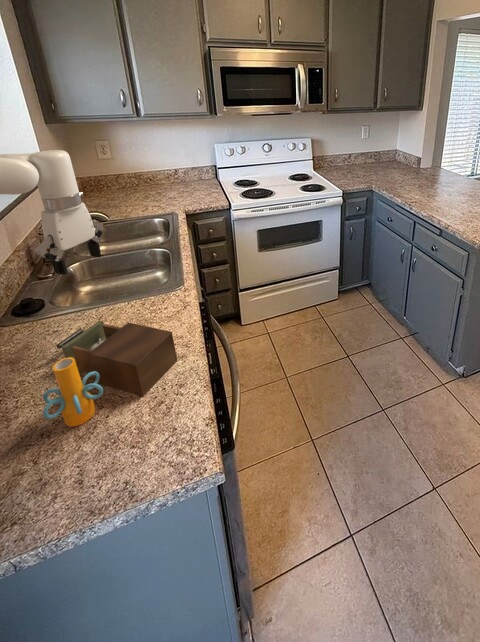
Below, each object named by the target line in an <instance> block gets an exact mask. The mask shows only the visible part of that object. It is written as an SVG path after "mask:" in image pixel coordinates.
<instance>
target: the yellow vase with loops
mask: <svg viewBox="0 0 480 642" xmlns="http://www.w3.org/2000/svg"><path fill="white" fill-rule="evenodd" d="M52 371H53V373H54V378H55V380H56V384H57V387H58V388H49V389H47V390H45V392H43V395H42V399H43V401H44V402H45V403H46V405H45V407H44V409H43V413H42V414H43V418H45V419H47V420H51V419H54V418H55V419H56V417H59V415H60V414H61V416H62V419H63V423H64V424H65V425H66V426H67V427H71V428H72V427H79V426H81V425H83V424H85V423H86V422H88V421H89V420H91V418H92V417H93V416H94V414H95V413H96V405H95V402H94V400H97V399H99V398H101V397H102V396H103V395H104V388H103V387H102V386H103V385H101V384H97V383H98V382H99V379H100V375H99V373H98V372H96V371H93V372H90V373H89V372H87V374H86V375H84V377H83V378H81V375H80V372H79V371H80V370H79V369H78V366H77V365H76V362H75V359H74V358H72V357H68V358H65V357H64V358H62V359H59V360H58V361H56V362H55V363H54V364H53V365H52ZM92 376H94V377H95V376H96V378H95V380H94V382H92V383H87V384H86V382H87V380H88V379H89V378H90V377H92ZM94 388H95V389H97V390H98V393H97V394H95V395H94V394H93V395H92V393H91V392H90V391H91V390H93V389H94ZM52 393H53V394H54V393H55V394H57V395H59V396H58V397H54V398H53V399H50V398H49V397H48V396H49V394H52ZM53 405H60V407H59V408H58V410H56V412H54V413H53V414H49V410H50V408H51V407H52V406H53Z"/></svg>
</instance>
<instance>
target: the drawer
mask: <svg viewBox="0 0 480 642" xmlns="http://www.w3.org/2000/svg"><path fill="white" fill-rule="evenodd" d="M121 328H122V327H120V326H115V325H111V324H106V323H104V321H103V320H98V321H96V322H95V323H94V324H93V325H91V326H90V327H88V328H86V330H84V329H83V328H78V330H76V331H74V332H73V333H72V334H70V335H69V336H67V337H65V338H64V339H63V340H61V341H60V342H59V343H57V344H56V346H55V347H56V348H57V349H58V350H60V349H61V350H62V353H63V355H64V358H68V357H72V358H74V359H75V362H76V365H77V368H78V371H83V372H86V373H90V372H93V368H92V365H91V361H90V358H89V354H88V353H89V352H91V351H92V350H90V347H91V346H93V345H94V344H96V343H97V342H99V339H100V338H101V341H105V340H106V339H108V338H109V337H110V336H111V335H113V334H114V333H115V332H117V331H118V330H119V329H121Z"/></svg>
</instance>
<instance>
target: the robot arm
mask: <svg viewBox="0 0 480 642" xmlns="http://www.w3.org/2000/svg"><path fill="white" fill-rule="evenodd" d="M36 187H37V188H38V192H39V196H40V198H41V202H42V205H43V209H44V210H43V211H41V215H40V219H41V228H42V234H43V240H42V242H41V243H40V244H39V245H38V246H36V248H35V249H34V252H36V253H37V254H38V255H39V256H40V257H41V258H43V259H46V260H48V261H50V263H51V265H52V268H53V271H54V272H55V273H56V274H57V275H62V276H65V275H66V276H67V275H68V269H67V265H66V262H65V259H62V257H63V255H64V253H65V251H68V250H70V249H72V248H75V247H77V246H79V245H81V244H84V243H85V242H87V241H88V242H87V247H88V251H89V255H90V256H91V257H95V258H101V257H102V250H101V246H100V243H101V237H102V235H103V228H104V223H103V222H98V221H93V220H92V217H91V215H90V212H89V209H88V208H87V206H86V204H85V202H82V197H84V192H82V191H80V190H79V187H78V182H77V178H76V174H75V170H74V167H73V163H72V160H71V156H70V155H69V153H68V152H67V151H65V150H62V149H49V150H41V151H36V152H32V153H1V154H0V195H10V196H11V195H12V196H14V195H15V196H16V195H23V194H26V193H28V192H31V191H32V190H34V189H35V188H36ZM47 249H48V250H50V251H48V250H47Z"/></svg>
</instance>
